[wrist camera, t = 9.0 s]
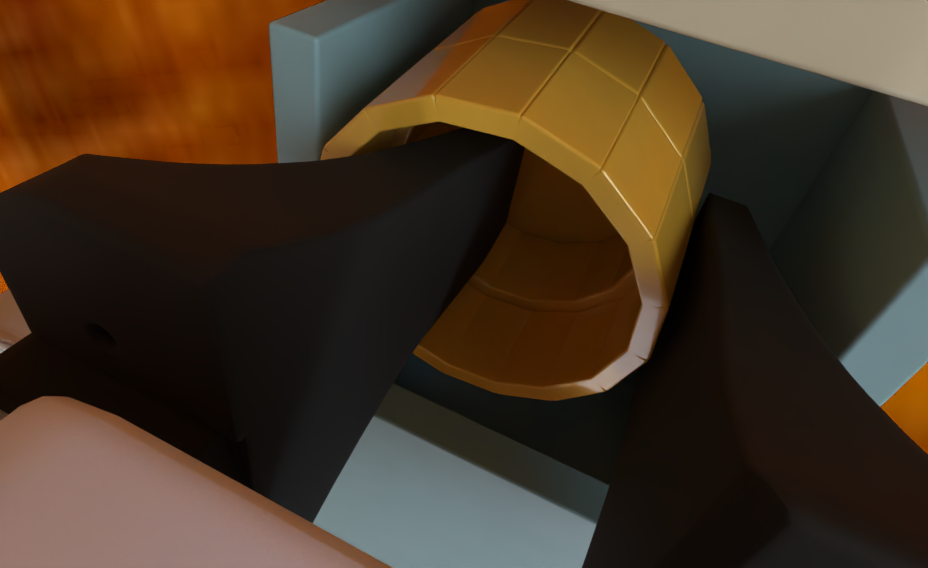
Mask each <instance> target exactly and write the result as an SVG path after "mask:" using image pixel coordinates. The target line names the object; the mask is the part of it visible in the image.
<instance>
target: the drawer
mask: <svg viewBox="0 0 928 568" xmlns="http://www.w3.org/2000/svg"><path fill="white" fill-rule="evenodd" d="M507 1H510V0H326V1H323V2H321V3H318V4H316V5H313V6H311V7H308V8H305V9H303V10H300V11H298V12H295V13H293V14H290V15H287V16H285V17H282V18H280V19H277V20H274V21H272V22H271V23H270V24H269V40H270V55H271V69H272V83H273V98H274V112H275V126H276V141H277V155H278V163H290V162H307V161H318V160H320V159H321V155H322V150H323V148H324V146H325V144H326V143H327V142H328V141H329V140H330V139H331V138H332V137H333V136H335V135H336V134H337V133H338V132H339V131H340V130H341V129H342V128H343V127H344V126H345V125H346V124H347V123H348V122H349V121H350V120H351V119H353V118H354V117H355V116H356V115H357V114H358V113H359V112H360V111H361V110H362V109H363V108H364V107H365V106H367V105H368V104H369V103H370V102H371V101H373V100H374V99H375V98H376V97H377V96H378V95H380V94H381V93H382V92H383V91H384V90H385V89H387V88H388V87H389V86H390V85H391V84H392V83H394V82H395V81H396V80H397V79H398V78H400V77H401V76H402V75H403V74H404V73H405V72H407V71H408V70H409V69H410V68H411V67H412V66H414V65H415V64H416V63H417V62H418V61H419V60H421V59H422V58H423V57H424V56H425V55H427V54H428V53H429V52H430V51H431V50H433V49H434V48H435V47H436V46H437V45H438V44H440V43H441V42H442V41H443V40H444V39H446V38H447V37H448V36H449V35H450V34H451V33H453V32H454V31H455V30H456V29H457V28H458V27H460V26H461V25H462V24H463V23H464V22H465V21H467V20H468V19H469V18H470V17H471V16H473V15H474V14H475V13H476V12H478V11H481V10H482V9H483V8H486V7H489V6H493V5H496V4H500V3H503V2H507ZM568 1H571V2H574V3H578V4H581V5H585V6H588V7H591V8H595V9H598V10H602V11H605V12H608V13H612V14H615V15H619V16H622V17H625V18H629V19H632V20H633V21H635V22H636V23H638V24H639V25H641V26H642V27H644V28H645V29H647V30H648V31H650V32H651V33H653V34H654V35H656V36H657V37H659V38H660V39H662V40H663V41H664V42H665V45H668V46H670V48H671V49H672V51H673V52H674V54H675V56H676V57H677V59H678V60H679V62H680V63H681V65H682V66H683V68H684V70H685V71H686V73H687V74H688V76H689V77H690V79H691V81H692V82H693V84H694V85H695V87H696V88H697V90H698V91H699V93H700V95H701V96H702V99H703V101H702V102H703V103H704V105H705V110H706V118H707V126H708V134H709V142H710V150H711V167H710V170H709V173H708V177H707V180H706V184H705V187H704V191H703V194H702V197H701V201H700V204H699V208H698V211H697V215H698V213H699V211H700V210H701V208H702V206H703V204H704V202H705V200H706V198H707V196H708V194H709V193H712V194H715V195H718V196H720V197H723V198H726V199H729V200H732V201H735V202H737V203H740V204H743V205H746V206H747V208H748V209H749V211H750V213H751V215H752V217H753V219H754V221H755V224H756V226H757V228H758V230H759V232H760V234H761V236H762V238H763V240H764V242H765V244H766V247H767V249H768V250H769V252H770V254H771V256H772V258H773V260H774V262H775V264H776V266H777V268H778V270H779V272H780V273H781V275H782V277H783V279H784V281H785V282H786V284H787V286H788V287H789V289H790V291H791V292H792V294H793V296H794V297H795V299H796V301H797V302H798V304H799V305H800V307H801V308H802V310H803V311H804V313H805V314H806V316H807V318H808V319H809V321H810V322H811V324H812V325H813V327H814V328H815V329H816V331H817V332H818V334H819V335H820V336H821V338H822V339H823V341H824V342H825V343H826V344H827V346H828V347H829V348H830V349H831V351H832V352H833V353H834V354H835V356H836V357H837V358H838V359H839V361H840V362H841V363H842V364H843V366H844V367H845V368H846V370H847V371H848V372H849V373H850V374H851V376H852V377H853V378H854V379H855V380H856V381H857V382H858V384H859V385H860V386H861V387H862V388H863V389H864V390H865V392H866V393H867V394H868V395H869V396H870V397H871V398H872V399H873V400H874V401H875V402H876V403H877V404H878V405H879V406H880V407H881V406H882V405H883V404H884V403H885V402H886V401H887V400H888V399H889V398H890V397H891V396H892V395H893V394H894V393H895V392H896V391H897V390H898V389H900V388H901V387H902V386H903V385H904V384H905V383H906V382H907V381H908V380H909V379H910V378H911V377H912V376H913V375H914V374H915V373H916V372H917V371H919V370H920V369H921V368H922V367H923V366H924V365H925V364H926V363H927V362H928V0H568ZM697 215H696V217H697ZM695 219H696V218H695ZM637 372H638V369H637V370H636V371H634V372H633V373H631V374H630V375H629V376H627V377H626V378H625V379H623V380H622V381H620V382H619V383H618V384H616V385H615V386H614V387H612V388H611V389H609V390H608V391H607V390H606V391H605V392H601V393H596V394H591V395H585V396H580V397H575V398H569V399H564V400H559V401H554V400H553V401H546V400H539V399H531V398H523V397H515V396H507V395H499V394H498V393H493V392H490V391H488V390H485V389H482V388H480V387H477V386H475V385H472V384H469V383H467V382H464V381H462V380H459V379H456V378H454V377H451V376H449V375H446V374H444V373H443V372H440V371H439V370H437V369H435V368H434V367H432V366H431V365H429V364H428V363H426V362H425V361H423V360H422V359H420V358H419V357H417V356H416V355H414V354H413V353H412V354H411V356H410V357H409V359H408V360H407V362H406V364H405V365H404V367H403V368H402V370H401V372H400V373H399V375H398V377H397V378H396V380H395V381H394V383H395V384H397V385H399V386H401V387H403V388H406V389H408V390H410V391H412V392H414V393H416V394H418V395H420V396H422V397H425V398H427V399H429V400H431V401H433V402H435V403H437V404H439V405H442V406H444V407H446V408H448V409H450V410H452V411H454V412H456V413H458V414H461V415H463V416H465V417H467V418H469V419H471V420H473V421H475V422H478V423H480V424H482V425H484V426H486V427H488V428H490V429H492V430H494V431H497V432H499V433H501V434H503V435H505V436H507V437H509V438H511V439H514V440H516V441H518V442H520V443H522V444H524V445H526V446H528V447H530V448H533V449H535V450H537V451H539V452H541V453H543V454H545V455H547V456H550V457H552V458H554V459H556V460H558V461H560V462H562V463H564V464H567V465H569V466H571V467H573V468H575V469H577V470H579V471H581V472H583V473H586V474H588V475H590V476H592V477H594V478H596V479H598V480H600V481H603V482H605V483H607V484H609V485H610V482H611V479H612V476H613V473H614V470H615V467H616V464H617V461H618V457H619V454H620V451H621V447H622V443H623V439H624V435H625V431H626V427H627V422H628V417H629V412H630V407H631V402H632V397H633V392H634V387H635V382H636V377H637Z"/></svg>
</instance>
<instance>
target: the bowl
mask: <svg viewBox="0 0 928 568" xmlns="http://www.w3.org/2000/svg"><path fill="white" fill-rule="evenodd" d="M702 101H703V99H702V96H701V95H700V93H699V91H698V90H697V88H696V87H695V85H694V84H693V82H692V81H691V79H690V77H689V76H688V74H687V73H686V71H685V70H684V68H683V66H682V65H681V63H680V62H679V60H678V59H677V57H676V56H675V54H674V52H673V51H672V49H671V48H670V46H668V45H665V42H664V41H663V40H662V39H660V38H659V37H657V36H656V35H654V34H653V33H651V32H650V31H648V30H647V29H645V28H644V27H642V26H641V25H639V24H638V23H636V22H635V21H633V20H632V19H629V18H625V17H622V16H619V15H615V14H612V13H608V12H605V11H602V10H598V9H595V8H591V7H588V6H585V5H581V4H578V3H574V2H571V1H568V0H510V1H507V2H503V3H500V4H496V5H493V6H489V7H486V8H483V9H482V10H481V11H478V12H476V13H475V14H474V15H473V16H471V17H470V18H469V19H468V20H467V21H465V22H464V23H463V24H462V25H461V26H460V27H458V28H457V29H456V30H455V31H454V32H453V33H451V34H450V35H449V36H448V37H447V38H446V39H444V40H443V41H442V42H441V43H440V44H438V45H437V46H436V47H435V48H434V49H433V50H431V51H430V52H429V53H428V54H427V55H425V56H424V57H423V58H422V59H421V60H419V61H418V62H417V63H416V64H415V65H414V66H412V67H411V68H410V69H409V70H408V71H407V72H405V73H404V74H403V75H402V76H401V77H400V78H398V79H397V80H396V81H395V82H394V83H392V84H391V85H390V86H389V87H388V88H387V89H385V90H384V91H383V92H382V93H381V94H380V95H378V96H377V97H376V98H375V99H374V100H373V101H371V102H370V103H369V104H368V105H367V106H365V107H364V108H363V109H362V110H361V111H360V112H359V113H358V114H357V115H356V116H355V117H354V118H353V119H351V120H350V121H349V122H348V123H347V124H346V125H345V126H344V127H343V128H342V129H341V130H340V131H339V132H338V133H337V134H336V135H335V136H333V137H332V138H331V139H330V140H329V141H328V142H327V143H326V144H325V146H324V148H323V150H322V155H321V159H320V160H326V159H333V158H341V157H348V156H354V155H360V154H365V153H370V152H375V151H379V150H383V149H388V148H392V147H396V146H400V145H404V144H408V143H412V142H416V141H420V140H424V139H427V138H430V137H434V136H437V135H440V134H444V133H447V132H450V131H453V130H457V129H460V128H467V129H471V130H475V131H479V132H483V133H487V134H491V135H496V136H500V137H504V138H508V139H512V140H514V141H516V142H517V143H519V144H520V145H522V146H523V147H525V149H524V153H523V157H522V161H521V165H520V169H519V173H518V177H517V181H516V185H515V189H514V193H513V197H512V201H511V205H510V209H509V213H508V217H507V221H506V224H505V225H504V227H503V229H502V231H501V232H500V234H499V236H498V238H497V240H496V241H495V243H494V245H493V246H492V248H491V250H490V252H489V253H488V255H487V257H486V258H485V260H484V261H483V263H482V264H481V265H480V267H479V268H478V269H477V271H476V272H475V273H474V274H473V276H472V277H471V278H470V280H469V281H468V282H467V283H466V285H465V286H464V287H463V288H462V290H461V291H460V292H459V294H458V295H457V296H456V297H455V299H454V300H453V301H452V302H451V304H450V305H449V306H448V307H447V309H446V310H445V311H444V312H443V314H442V315H441V316H440V317H439V319H438V320H437V321H436V322H435V324H434V325H433V326H432V327H431V329H430V330H429V331H428V333H427V334H426V335H425V336H424V338H423V339H422V340H421V342H420V343H419V344H418V346H417V347H416V349H415V350H414V351H413V354H414V355H416V356H417V357H419V358H420V359H422V360H423V361H425V362H426V363H428V364H429V365H431V366H432V367H434V368H435V369H437V370H439V371H440V372H443V373H444V374H446V375H449V376H451V377H454V378H456V379H459V380H462V381H464V382H467V383H469V384H472V385H475V386H477V387H480V388H482V389H485V390H488V391H490V392H493V393H498V394H499V395H507V396H515V397H523V398H531V399H539V400H546V401H553V400H554V401H559V400H564V399H569V398H575V397H580V396H585V395H591V394H596V393H601V392H605V391H606V390H607V391H608V390H609V389H611V388H612V387H614V386H615V385H616V384H618V383H619V382H620V381H622V380H623V379H625V378H626V377H627V376H629V375H630V374H631V373H633V372H634V371H636V370H637V369H638V368H640V367H641V366H642V365H644V364H645V363H647V362H648V360H649V359H650V358H651V356H652V353H653V351H654V348H655V345H656V343H657V340H658V337H659V335H660V332H661V329H662V327H663V324H664V322H665V319H666V316H667V314H668V311H669V308H670V305H671V301H672V298H673V294H674V291H675V287H676V284H677V280H678V277H679V274H680V270H681V267H682V263H683V260H684V256H685V253H686V249H687V246H688V243H689V239H690V236H691V232H692V229H693V225H694V222H695V218H696V215H697V211H698V208H699V204H700V201H701V197H702V194H703V191H704V187H705V184H706V180H707V177H708V173H709V170H710V167H711V150H710V142H709V134H708V126H707V118H706V110H705V105H704V103H703V102H702Z"/></svg>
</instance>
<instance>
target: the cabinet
mask: <svg viewBox="0 0 928 568" xmlns="http://www.w3.org/2000/svg"><path fill="white" fill-rule="evenodd" d="M608 488H609V484H607V483H605V482H603V481H600V480H598V479H596V478H594V477H592V476H590V475H588V474H586V473H583V472H581V471H579V470H577V469H575V468H573V467H571V466H569V465H567V464H564V463H562V462H560V461H558V460H556V459H554V458H552V457H550V456H547V455H545V454H543V453H541V452H539V451H537V450H535V449H533V448H530V447H528V446H526V445H524V444H522V443H520V442H518V441H516V440H514V439H511V438H509V437H507V436H505V435H503V434H501V433H499V432H497V431H494V430H492V429H490V428H488V427H486V426H484V425H482V424H480V423H478V422H475V421H473V420H471V419H469V418H467V417H465V416H463V415H461V414H458V413H456V412H454V411H452V410H450V409H448V408H446V407H444V406H442V405H439V404H437V403H435V402H433V401H431V400H429V399H427V398H425V397H422V396H420V395H418V394H416V393H414V392H412V391H410V390H408V389H406V388H403V387H401V386H399V385H397V384H395V383H393V385H392V386H391V388H390V389H389V391H388V393H387V394H386V396H385V398H384V399H383V401H382V403H381V404H380V406H379V408H378V409H377V411H376V413H375V414H374V416H373V418H372V419H371V421H370V423H369V424H368V426H367V428H366V429H365V431H364V433H363V434H362V436H361V438H360V440H359V441H358V443H357V445H356V447H355V448H354V450H353V452H352V454H351V455H350V457H349V459H348V461H347V462H346V464H345V466H344V468H343V469H342V471H341V473H340V475H339V476H338V478H337V480H336V482H335V483H334V485H333V487H332V489H331V491H330V492H329V494H328V496H327V498H326V500H325V502H324V503H323V505H322V507H321V509H320V511H319V513H318V514H317V516H316V518H315V520H314V522H313V524H314V525H316V526H318V527H320V528H322V529H324V530H325V531H327V532H329V533H331V534H333V535H334V536H336V537H338V538H340V539H342V540H343V541H345V542H347V543H349V544H351V545H353V546H354V547H356V548H358V549H360V550H362V551H363V552H365V553H367V554H369V555H371V556H372V557H374V558H376V559H378V560H380V561H381V562H383V563H385V564H387V565H389V566H391V567H392V568H582V566H583V563H584V560H585V557H586V554H587V551H588V548H589V545H590V542H591V539H592V536H593V533H594V530H595V527H596V524H597V522H598V519H599V516H600V513H601V510H602V507H603V504H604V501H605V498H606V494H607V491H608Z"/></svg>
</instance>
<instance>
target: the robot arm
mask: <svg viewBox="0 0 928 568" xmlns="http://www.w3.org/2000/svg"><path fill="white" fill-rule="evenodd" d="M524 149H525V147H523V146H522V145H520V144H519V143H517V142H516V141H514V140H512V139H508V138H504V137H500V136H496V135H491V134H487V133H483V132H479V131H475V130H471V129H467V128H460V129H457V130H453V131H450V132H447V133H444V134H440V135H437V136H434V137H430V138H427V139H424V140H420V141H416V142H412V143H408V144H404V145H400V146H396V147H392V148H388V149H383V150H379V151H375V152H370V153H365V154H360V155H354V156H348V157H341V158H333V159H326V160H318V161H307V162H290V163H273V164H253V165H221V164H192V163H174V162H161V161H151V160H141V159H130V158H120V157H110V156H101V155H93V154H83V155H80V156H78V157H76V158H74V159H72V160H70V161H68V162H66V163H63V164H61V165H59V166H57V167H55V168H53V169H51V170H49V171H46V172H44V173H42V174H40V175H38V176H36V177H34V178H32V179H29V180H27V181H25V182H23V183H21V184H19V185H17V186H15V187H12V188H10V189H8V190H6V191H4V192H2V193H0V272H1V274H2V276H3V278H4V280H5V282H6V284H7V286H8V288H9V290H10V292H11V294H12V296H13V298H14V300H15V302H16V304H17V306H18V308H19V309H20V311H21V313H22V315H23V317H24V319H25V321H26V323H27V325H28V327H29V329H30V331H31V332H32V333H30V334H29V335H27V336H26V337H24V338H23V339H21V340H20V341H18V342H17V343H15V344H14V345H12V346H11V347H9V348H8V349H6V350H5V351H3V352H2V353H0V568H392V567H391V566H389V565H387V564H385V563H383V562H381V561H380V560H378V559H376V558H374V557H372V556H371V555H369V554H367V553H365V552H363V551H362V550H360V549H358V548H356V547H354V546H353V545H351V544H349V543H347V542H345V541H343V540H342V539H340V538H338V537H336V536H334V535H333V534H331V533H329V532H327V531H325V530H324V529H322V528H320V527H318V526H316V525H314V524H313V522H314V520H315V518H316V516H317V514H318V513H319V511H320V509H321V507H322V505H323V503H324V502H325V500H326V498H327V496H328V494H329V492H330V491H331V489H332V487H333V485H334V483H335V482H336V480H337V478H338V476H339V475H340V473H341V471H342V469H343V468H344V466H345V464H346V462H347V461H348V459H349V457H350V455H351V454H352V452H353V450H354V448H355V447H356V445H357V443H358V441H359V440H360V438H361V436H362V434H363V433H364V431H365V429H366V428H367V426H368V424H369V423H370V421H371V419H372V418H373V416H374V414H375V413H376V411H377V409H378V408H379V406H380V404H381V403H382V401H383V399H384V398H385V396H386V394H387V393H388V391H389V389H390V388H391V386H392V385H393V383H394V381H395V380H396V378H397V377H398V375H399V373H400V372H401V370H402V368H403V367H404V365H405V364H406V362H407V360H408V359H409V357H410V356H411V354H412V353H413V351H414V350H415V349H416V347H417V346H418V344H419V343H420V342H421V340H422V339H423V338H424V336H425V335H426V334H427V333H428V331H429V330H430V329H431V327H432V326H433V325H434V324H435V322H436V321H437V320H438V319H439V317H440V316H441V315H442V314H443V312H444V311H445V310H446V309H447V307H448V306H449V305H450V304H451V302H452V301H453V300H454V299H455V297H456V296H457V295H458V294H459V292H460V291H461V290H462V288H463V287H464V286H465V285H466V283H467V282H468V281H469V280H470V278H471V277H472V276H473V274H474V273H475V272H476V271H477V269H478V268H479V267H480V265H481V264H482V263H483V261H484V260H485V258H486V257H487V255H488V253H489V252H490V250H491V248H492V246H493V245H494V243H495V241H496V240H497V238H498V236H499V234H500V232H501V231H502V229H503V227H504V225H505V224H506V221H507V217H508V213H509V209H510V205H511V201H512V197H513V193H514V189H515V185H516V181H517V177H518V173H519V169H520V165H521V161H522V157H523V153H524ZM582 568H928V454H926V453H925V452H924V451H923V450H922V449H921V448H920V447H919V446H918V445H917V444H916V443H915V442H914V441H913V440H912V439H911V438H910V437H909V436H908V435H907V434H906V433H905V432H904V431H903V430H902V429H901V428H900V427H899V426H898V425H897V424H896V423H895V422H894V421H893V420H892V419H891V418H890V417H889V416H888V415H887V414H886V413H885V412H884V411H883V410H882V409H881V407H880V406H879V405H878V404H877V403H876V402H875V401H874V400H873V399H872V398H871V397H870V396H869V395H868V394H867V393H866V392H865V390H864V389H863V388H862V387H861V386H860V385H859V384H858V382H857V381H856V380H855V379H854V378H853V377H852V376H851V374H850V373H849V372H848V371H847V370H846V368H845V367H844V366H843V364H842V363H841V362H840V361H839V359H838V358H837V357H836V356H835V354H834V353H833V352H832V351H831V349H830V348H829V347H828V346H827V344H826V343H825V342H824V341H823V339H822V338H821V336H820V335H819V334H818V332H817V331H816V329H815V328H814V327H813V325H812V324H811V322H810V321H809V319H808V318H807V316H806V314H805V313H804V311H803V310H802V308H801V307H800V305H799V304H798V302H797V301H796V299H795V297H794V296H793V294H792V292H791V291H790V289H789V287H788V286H787V284H786V282H785V281H784V279H783V277H782V275H781V273H780V272H779V270H778V268H777V266H776V264H775V262H774V260H773V258H772V256H771V254H770V252H769V250H768V249H767V247H766V244H765V242H764V240H763V238H762V236H761V234H760V232H759V230H758V228H757V226H756V224H755V221H754V219H753V217H752V215H751V213H750V211H749V209H748V208H747V206H746V205H743V204H740V203H737V202H735V201H732V200H729V199H726V198H723V197H720V196H718V195H715V194H712V193H709V194H708V196H707V198H706V200H705V202H704V204H703V206H702V208H701V210H700V211H699V213H698V215H697V217H696V219H695V222H694V225H693V229H692V232H691V236H690V239H689V243H688V246H687V249H686V253H685V256H684V260H683V263H682V267H681V270H680V274H679V277H678V280H677V284H676V287H675V291H674V294H673V298H672V301H671V305H670V308H669V311H668V314H667V316H666V319H665V322H664V324H663V327H662V329H661V332H660V335H659V337H658V340H657V343H656V345H655V348H654V351H653V353H652V356H651V358H650V359H649V360H648V362H647V363H645V364H644V365H642V366H641V367H640V368H638V372H637V377H636V382H635V387H634V392H633V397H632V402H631V407H630V412H629V417H628V422H627V427H626V431H625V435H624V439H623V443H622V447H621V451H620V454H619V457H618V461H617V464H616V467H615V470H614V473H613V476H612V479H611V482H610V485H609V488H608V491H607V494H606V498H605V501H604V504H603V507H602V510H601V513H600V516H599V519H598V522H597V524H596V527H595V530H594V533H593V536H592V539H591V542H590V545H589V548H588V551H587V554H586V557H585V560H584V563H583V566H582Z"/></svg>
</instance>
